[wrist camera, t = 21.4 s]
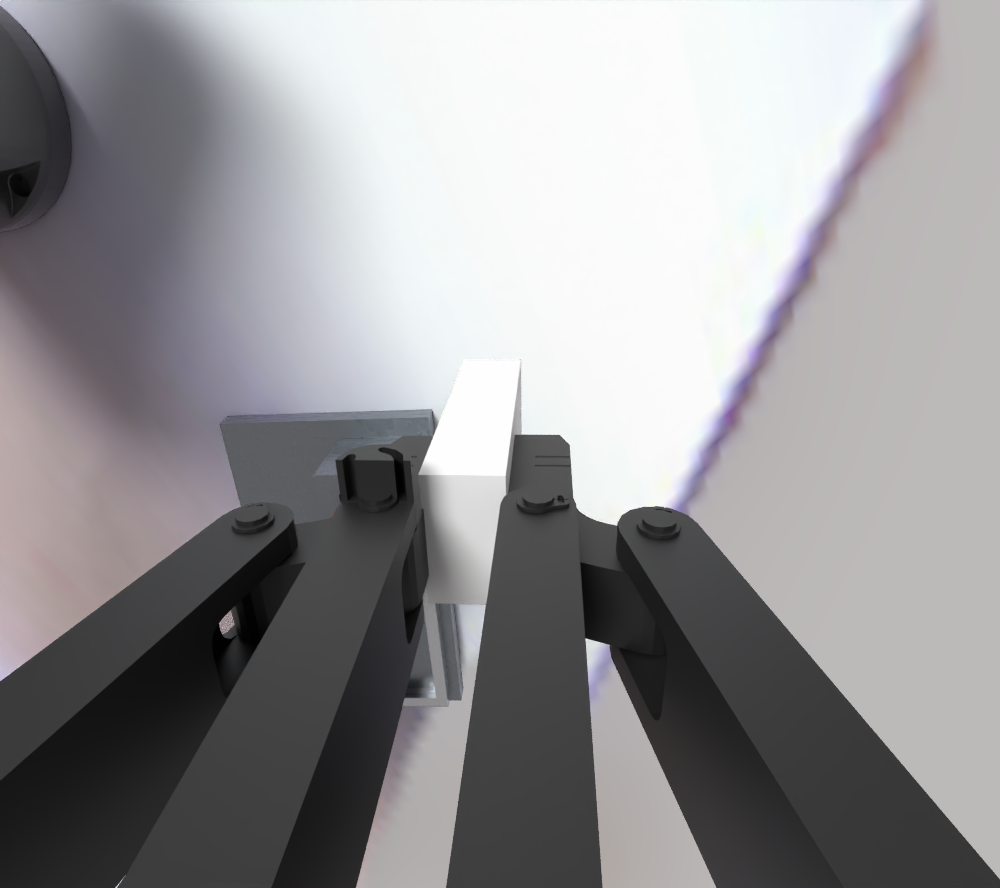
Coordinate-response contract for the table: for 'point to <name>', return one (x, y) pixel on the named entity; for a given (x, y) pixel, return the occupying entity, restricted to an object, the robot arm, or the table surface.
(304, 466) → the press
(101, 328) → the table surface
